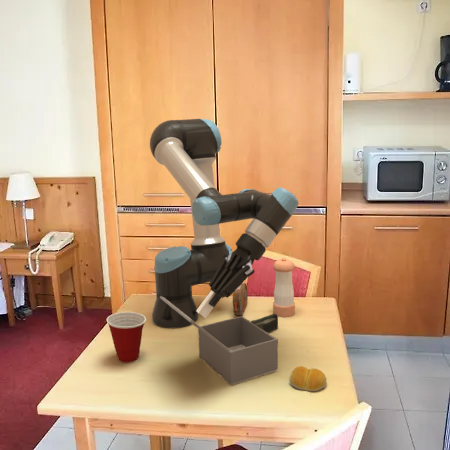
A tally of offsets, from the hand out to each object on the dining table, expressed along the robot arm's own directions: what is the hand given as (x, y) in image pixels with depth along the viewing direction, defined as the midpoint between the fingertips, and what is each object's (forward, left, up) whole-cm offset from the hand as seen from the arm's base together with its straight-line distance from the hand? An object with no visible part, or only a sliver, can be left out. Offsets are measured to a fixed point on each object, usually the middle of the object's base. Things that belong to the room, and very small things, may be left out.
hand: (200, 314), depth 130 cm
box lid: (-1, -2, -2) cm, 3 cm away
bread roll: (+17, +21, -17) cm, 32 cm away
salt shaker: (-23, +42, -17) cm, 50 cm away
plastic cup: (-20, -13, -17) cm, 29 cm away
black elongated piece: (-13, +26, -17) cm, 34 cm away
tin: (-33, +31, -17) cm, 48 cm away
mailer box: (-1, +11, -17) cm, 20 cm away
